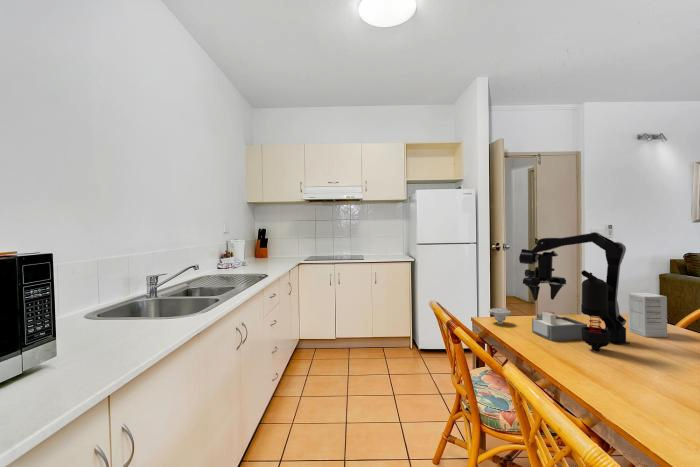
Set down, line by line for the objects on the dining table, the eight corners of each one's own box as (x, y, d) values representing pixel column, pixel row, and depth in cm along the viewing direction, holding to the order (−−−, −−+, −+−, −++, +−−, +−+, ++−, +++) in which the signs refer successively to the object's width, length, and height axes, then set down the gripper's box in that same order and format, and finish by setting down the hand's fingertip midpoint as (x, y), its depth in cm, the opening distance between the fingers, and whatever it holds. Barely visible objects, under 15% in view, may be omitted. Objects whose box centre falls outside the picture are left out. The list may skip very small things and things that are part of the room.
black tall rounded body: (594, 355, 124) (594, 271, 123) (572, 347, 133) (572, 269, 132) (625, 352, 126) (625, 270, 126) (602, 344, 135) (602, 267, 135)
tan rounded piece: (556, 322, 154) (556, 313, 154) (548, 323, 153) (548, 313, 153) (550, 320, 158) (550, 311, 158) (541, 320, 158) (541, 311, 158)
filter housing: (587, 338, 142) (587, 324, 142) (551, 340, 140) (551, 326, 140) (555, 326, 160) (555, 313, 160) (523, 328, 158) (523, 315, 158)
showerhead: (516, 309, 164) (500, 311, 160) (516, 324, 164) (500, 327, 160) (499, 305, 173) (484, 307, 168) (499, 320, 173) (485, 322, 168)
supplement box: (668, 337, 143) (668, 296, 143) (645, 337, 143) (645, 296, 143) (648, 330, 153) (648, 292, 152) (627, 330, 153) (627, 292, 153)
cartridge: (576, 334, 143) (576, 315, 143) (547, 336, 142) (547, 316, 142) (561, 328, 152) (561, 310, 152) (533, 330, 150) (533, 311, 150)
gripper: (547, 263, 166) (546, 295, 167) (514, 263, 162) (513, 297, 162) (567, 266, 156) (566, 300, 156) (532, 267, 151) (531, 302, 151)
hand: (543, 299), depth 157 cm, fingers open, 9 cm apart
